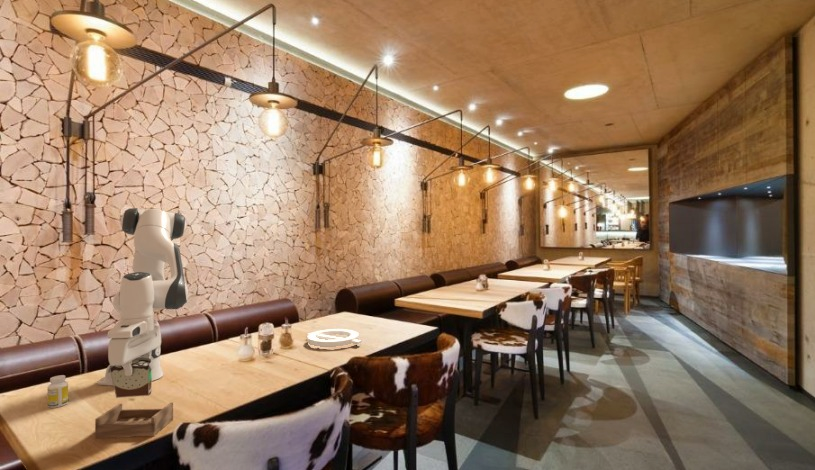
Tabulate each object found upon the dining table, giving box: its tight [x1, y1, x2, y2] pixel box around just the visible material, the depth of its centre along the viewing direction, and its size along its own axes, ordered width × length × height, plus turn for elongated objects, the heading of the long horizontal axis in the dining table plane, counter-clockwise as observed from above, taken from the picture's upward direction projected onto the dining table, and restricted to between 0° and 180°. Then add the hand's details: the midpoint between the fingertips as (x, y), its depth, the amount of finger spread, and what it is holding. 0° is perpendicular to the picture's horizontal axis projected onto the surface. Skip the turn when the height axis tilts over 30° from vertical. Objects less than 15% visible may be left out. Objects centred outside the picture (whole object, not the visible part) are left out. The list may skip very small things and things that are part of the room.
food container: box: [108, 357, 154, 399], centre depth 120 cm, size 12×6×10 cm, turn 95°
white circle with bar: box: [306, 328, 362, 347], centre depth 217 cm, size 28×28×5 cm
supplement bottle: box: [46, 374, 69, 409], centre depth 136 cm, size 5×5×10 cm
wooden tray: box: [94, 402, 174, 439], centre depth 120 cm, size 10×17×6 cm, turn 93°
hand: (137, 370), depth 120 cm, fingers closed on food container, 6 cm apart
